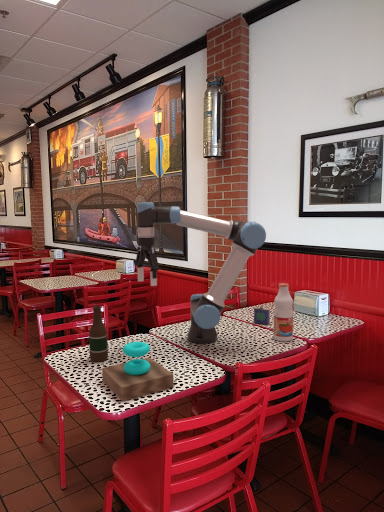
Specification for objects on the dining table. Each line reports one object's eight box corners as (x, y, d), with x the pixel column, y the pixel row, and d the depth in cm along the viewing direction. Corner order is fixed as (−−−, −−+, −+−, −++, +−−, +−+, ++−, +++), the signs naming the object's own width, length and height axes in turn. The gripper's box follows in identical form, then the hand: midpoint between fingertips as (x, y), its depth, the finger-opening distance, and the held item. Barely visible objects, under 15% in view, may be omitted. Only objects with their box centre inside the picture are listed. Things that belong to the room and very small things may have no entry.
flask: (270, 324, 223) (270, 305, 222) (268, 325, 220) (268, 307, 219) (254, 322, 228) (254, 304, 226) (252, 323, 225) (253, 305, 224)
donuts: (152, 341, 150) (146, 350, 140) (153, 366, 151) (146, 377, 141) (127, 340, 151) (119, 349, 141) (128, 365, 152) (119, 375, 142)
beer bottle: (88, 357, 174) (86, 304, 172) (106, 355, 177) (104, 303, 174) (90, 363, 167) (88, 308, 164) (109, 361, 170) (107, 306, 167)
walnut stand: (149, 369, 161) (149, 357, 160) (173, 387, 144) (173, 374, 143) (102, 380, 150) (102, 367, 150) (122, 401, 134) (121, 387, 133)
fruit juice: (284, 334, 204) (285, 281, 201) (296, 340, 195) (297, 284, 192) (269, 337, 200) (270, 283, 196) (281, 343, 191) (282, 286, 188)
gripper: (127, 235, 185) (128, 280, 187) (150, 238, 164) (151, 288, 166) (141, 235, 189) (143, 278, 191) (166, 237, 168) (167, 286, 170)
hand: (147, 283), depth 179 cm, fingers open, 13 cm apart
